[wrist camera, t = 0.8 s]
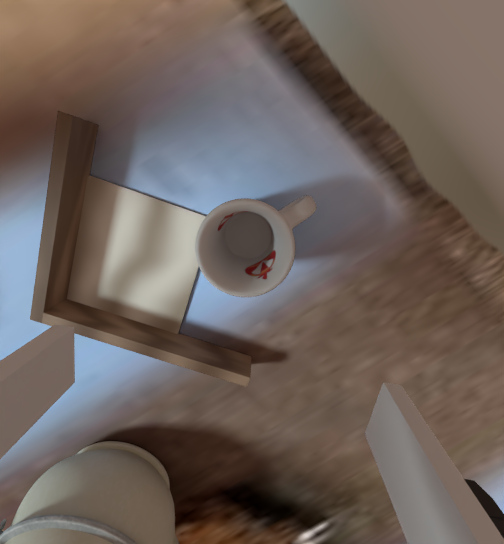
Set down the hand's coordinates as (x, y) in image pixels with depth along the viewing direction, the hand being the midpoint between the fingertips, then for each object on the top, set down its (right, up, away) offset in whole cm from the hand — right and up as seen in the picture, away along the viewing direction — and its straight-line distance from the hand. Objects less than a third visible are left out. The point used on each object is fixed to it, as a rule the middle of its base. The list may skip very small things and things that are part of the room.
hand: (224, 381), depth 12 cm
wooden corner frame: (-7, +6, +19) cm, 21 cm away
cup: (+2, +9, +18) cm, 20 cm away
